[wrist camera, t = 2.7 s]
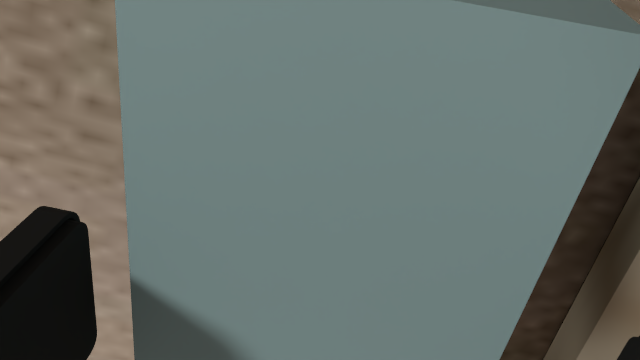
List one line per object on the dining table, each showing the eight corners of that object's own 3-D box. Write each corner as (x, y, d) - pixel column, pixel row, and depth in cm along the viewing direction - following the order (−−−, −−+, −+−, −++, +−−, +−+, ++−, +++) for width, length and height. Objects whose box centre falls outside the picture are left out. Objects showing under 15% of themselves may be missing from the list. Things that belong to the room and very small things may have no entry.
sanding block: (256, -113, 12) (112, -62, 6) (532, -64, 12) (654, 36, 6) (230, 242, 17) (139, 451, 12) (419, 280, 17) (425, 513, 11)
